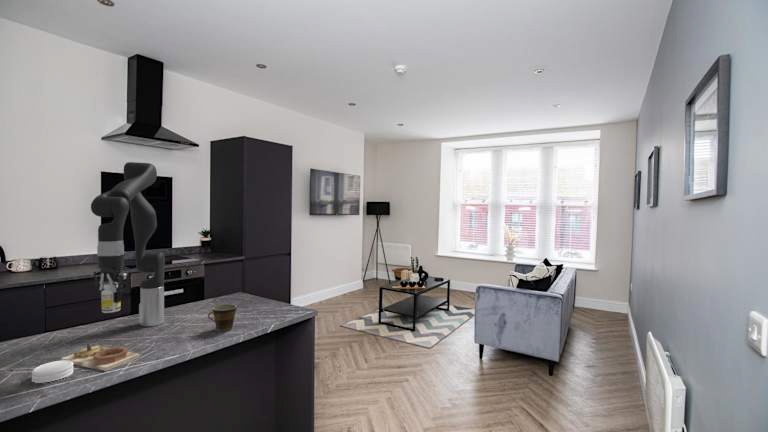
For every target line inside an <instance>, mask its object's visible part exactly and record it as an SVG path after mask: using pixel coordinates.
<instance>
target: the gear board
mask: <svg viewBox="0 0 768 432" xmlns="http://www.w3.org/2000/svg"><path fill="white" fill-rule="evenodd" d="M128 350H129V348H128V347H122V346H115V347H105V346H102V345H95V346H94V345H93V346H92V343H91V342H89V343H86V347H85V348H84V347H83V348H79V350H78V351H74V352H73V353H72V354H69V355H66V356H63V357H61V358H60V361H61V360H69V361H72V362H73V365H76V366H80V367H84V368H90V369H93V370H98V371H102V370H103V371H104V372H108V371H110V370H112V369H115V368H117V367H119V366H123V365H124V364H126V363H128V362H131V361H134V360H137V359H138V358H139V359H140V357H141V356H140V355H141V354H140V353H138V352H137V353H136V352H133V351H128ZM103 371H102V372H103Z"/></svg>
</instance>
